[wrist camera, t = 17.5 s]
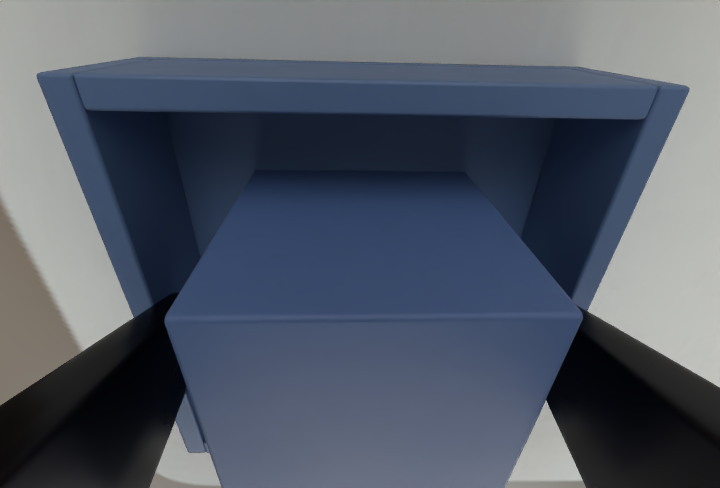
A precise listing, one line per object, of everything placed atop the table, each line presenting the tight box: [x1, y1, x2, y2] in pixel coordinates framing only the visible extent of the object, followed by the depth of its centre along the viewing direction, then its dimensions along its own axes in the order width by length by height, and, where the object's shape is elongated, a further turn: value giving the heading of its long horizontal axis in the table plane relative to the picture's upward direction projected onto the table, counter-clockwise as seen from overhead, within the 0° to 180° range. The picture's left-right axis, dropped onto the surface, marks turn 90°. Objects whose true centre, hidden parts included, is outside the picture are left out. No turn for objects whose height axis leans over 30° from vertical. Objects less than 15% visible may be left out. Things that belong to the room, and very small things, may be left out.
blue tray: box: [37, 57, 689, 453], centre depth 9 cm, size 10×10×3 cm
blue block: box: [165, 170, 583, 488], centre depth 8 cm, size 5×5×5 cm
